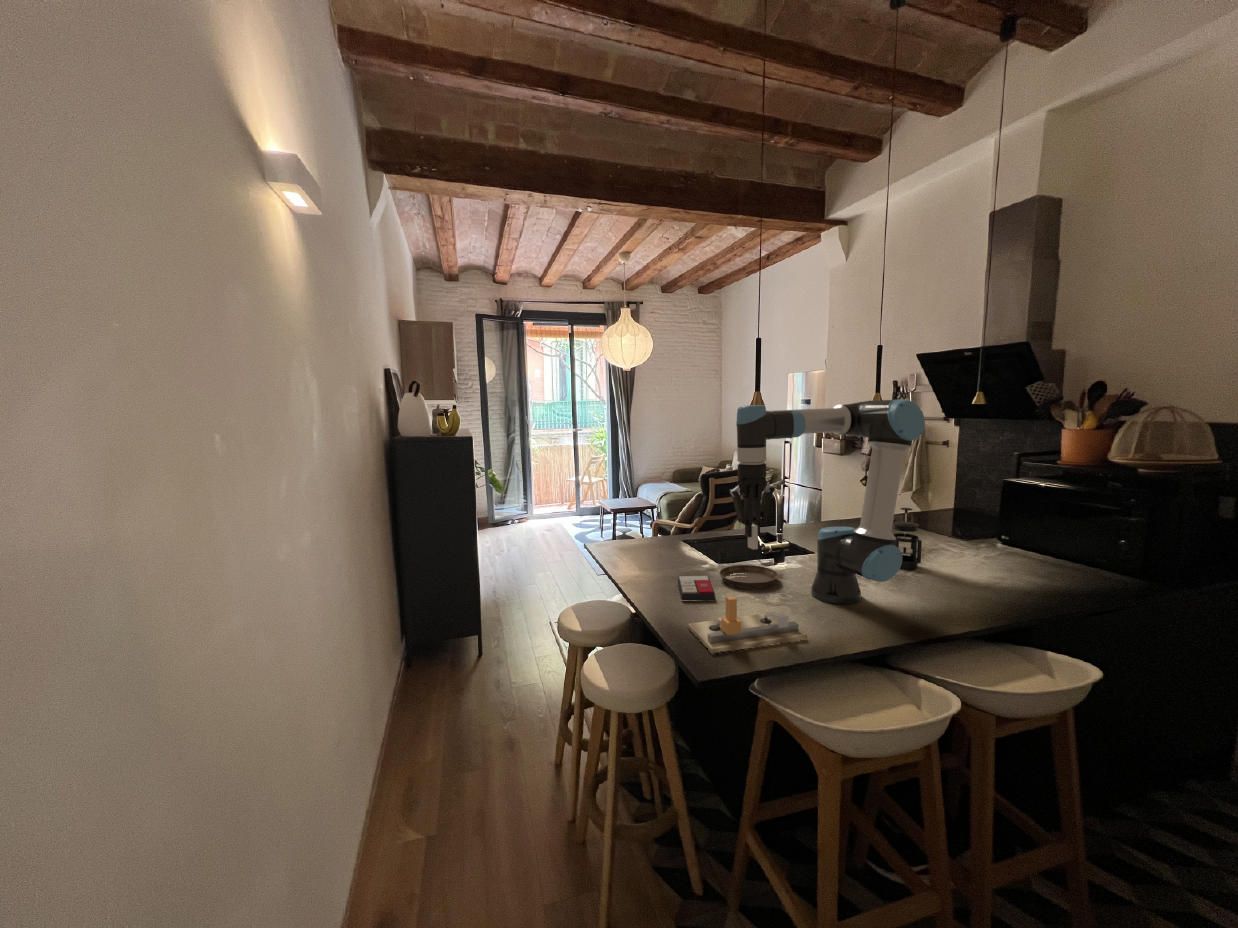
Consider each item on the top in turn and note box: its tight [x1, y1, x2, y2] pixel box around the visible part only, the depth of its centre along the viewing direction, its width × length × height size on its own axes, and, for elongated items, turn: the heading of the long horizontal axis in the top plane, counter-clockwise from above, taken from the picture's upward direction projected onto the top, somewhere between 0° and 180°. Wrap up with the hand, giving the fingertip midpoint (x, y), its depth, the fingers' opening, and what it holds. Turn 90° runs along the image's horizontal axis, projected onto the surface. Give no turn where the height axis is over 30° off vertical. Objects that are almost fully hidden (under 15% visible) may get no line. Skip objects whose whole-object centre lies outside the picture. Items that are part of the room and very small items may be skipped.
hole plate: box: [687, 611, 808, 653], centre depth 140 cm, size 28×16×2 cm, turn 104°
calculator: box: [677, 575, 716, 601], centre depth 172 cm, size 11×4×15 cm
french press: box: [892, 507, 923, 571], centre depth 193 cm, size 12×9×23 cm
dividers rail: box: [708, 611, 800, 644], centre depth 138 cm, size 26×10×5 cm, turn 104°
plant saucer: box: [719, 564, 779, 589], centre depth 183 cm, size 21×21×3 cm
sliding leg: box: [716, 595, 741, 635], centre depth 136 cm, size 4×10×11 cm, turn 14°
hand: (752, 547), depth 138 cm, fingers closed
